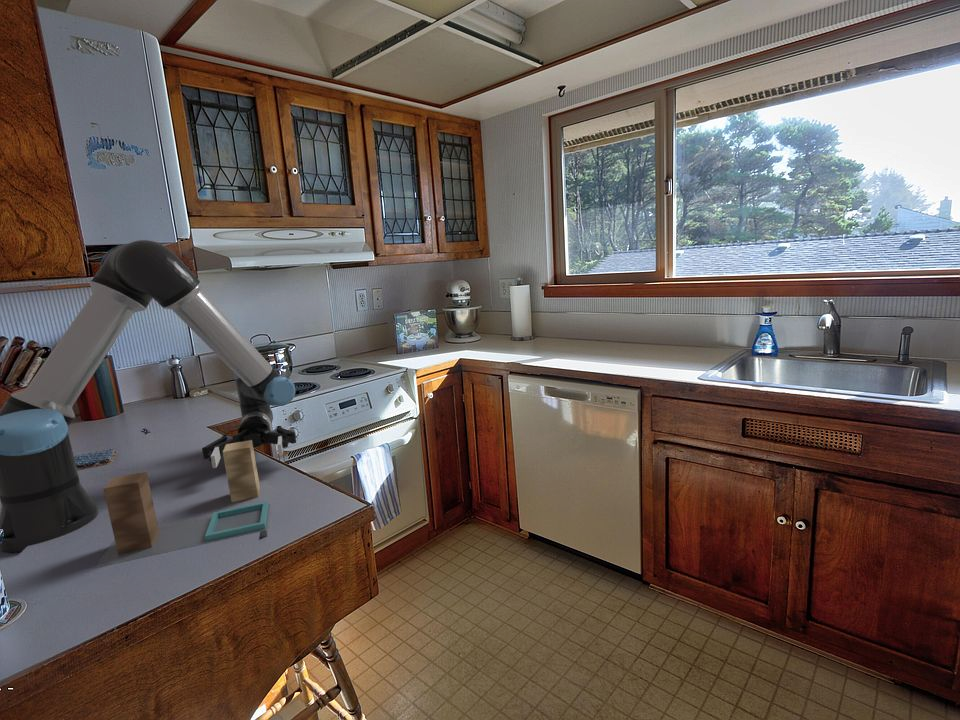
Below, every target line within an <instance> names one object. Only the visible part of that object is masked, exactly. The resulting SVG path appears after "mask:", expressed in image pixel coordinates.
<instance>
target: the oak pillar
mask: <svg viewBox="0 0 960 720" xmlns="http://www.w3.org/2000/svg"><path fill="white" fill-rule="evenodd" d="M222 456H223V461H224V467H225V472H226V479H227V483H228V484H227V485H228V490H229V494H230V501H231V503H237V502H241V501H245V500H251V499H255V498H259V495H260V489H261V487H260V485H261V484H260V480H259V473H258V468H257V463H256V455H255V449H254V447H253V443H252V440H249V441H243V442H237V443H231V444H226V446H225V448H224V450H223V455H222Z"/></svg>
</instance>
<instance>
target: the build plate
mask: <svg viewBox="0 0 960 720" xmlns="http://www.w3.org/2000/svg"><path fill="white" fill-rule="evenodd" d="M268 501H269V500H267V501H263V502H258V503H252V504H247V505H243V506H238V507H233V508H228V509H223V510H219V511H214V512H213V513H212V515H211V516H207V517H202V518H197V519H192V520H187V521H184V522H183V521H182V522H179V523H172V524H168V525H164V526H163V525H162V526H158V528H159V533H160V534H159V536H158V538H157V539H156V541H155V543H154V545H153V547H152V548H147V549H142V550H138V551H133V552H129V553H124V554H119V555H118V551H117V547H116V542H115V539H114V540H113V541H112V542H111V543H110V545H109V547H108V548H107V549H106V551H105V552H104V553H103V555H102V556H101V558H100V559H99V560H98V562H97V563H96V564H95V567H94V569H97V568H102V567H107V566H111V565H115V564H120V563H124V562H129V561H133V560H138V559H142V558H147V557H152V556H156V555H161V554H165V553H169V552H174V551H179V550H183V549H187V548H191V547H197V546H201V545H206V544H210V543H214V542H219V541H225V540H228V539H233V538H238V537H242V536H246V535H250V534H255V533H259V537H258V539H260V538H265V537H268V532H269V526H270V517H271V504H269V502H268Z"/></svg>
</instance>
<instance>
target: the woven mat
mask: <svg viewBox="0 0 960 720" xmlns="http://www.w3.org/2000/svg"><path fill="white" fill-rule="evenodd" d="M118 452H119V451H116V449H115V448H109V450H105V449H104V450H102V451H95V452H92V453H91V452H89V453H88V454H87V453H85V454H81V455H74V460H75V464H76V468H77V471H79V470H85V469H90V468H94V466H95V467H99V466H98V465H100V466H104V465H103V464H105V465H109V464H108V463H109V462H110V464H112V462H114V459H115V457H116V456H117V455H116V454H118ZM115 453H116V454H115ZM112 459H113V460H112ZM89 466H90V468H89ZM84 467H85V468H84Z"/></svg>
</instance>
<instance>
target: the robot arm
mask: <svg viewBox="0 0 960 720" xmlns="http://www.w3.org/2000/svg"><path fill="white" fill-rule="evenodd" d="M89 285H90V288H91V290H92V294H91V295H90V296H89V298H88V299H87V301H85V304H84V305H83V306H82V308H81V309H80V311H79V312H78V314H77V315H76V316H75V318H74V319H73V321H72V322H71V324H70V325H69V326H68V328H67V330H66V331H65V333H63V335H62V336H61V338H60V339H59V341H58V342H57V344H56V345H55V347H54V348H53V349H52V350H51V352H50V354H49V355H48V356H47V358H46V359H45V361H44V363H43V364H42V365H41V367H40V368H39V369H38V371H37V373H35V375H34V376H33V378H32V380H31V381H30V382H29V384H28V385H27V386H26V388H25V389H23V390H21V391H17V392H13V393H11V394H10V396H9V397H8V398H7V399H6V401H5V402H4V404H3V405H2V406H1V408H0V503H1V508H0V529H3V530H4V537H3V540H2V543H1V544H0V550H1V551H2V552H5V553H18V552H19V553H21V552H23V551H24V550H25V549H26V548H27V547H29V546H31V545H32V546H33V545H37V544H41V543H45V542H48V541H51V540H54V539H57V538H60V537H63V536H66V535H68V534H71V533H73V532H75V531H78V530H79V529H81V528H83V527H85V526H87V525H88V524H90V523H91V522H92V521H94V520H95V519H96V518H97V517H98V515H99V509H98V506H97V504H96V503H95V501H94V500H93V499H92V497H91V495H89V493H88V492H87V491H86V489H85V488H84V487H83V485H82V484H81V482H80V477H79V473H78V470H77V468H76V464H75V460H74V457H75V455H74V452H73V449H72V444H71V440H70V439H71V438H70V436H69V427H70V426H71V424H72V422H73V421H74V420H75V417H76V415H75V412H74V410H73V406H74V405H75V403H76V401H77V400H78V398H79V397H80V395H81V394H82V392H83V391H84V389H85V388H86V386H87V385H88V383H89V382H90V380H91V379H92V377H93V376H94V374H95V373H96V371H97V369H98V368H99V367H100V365H101V364H102V362H103V360H104V359H105V357H106V356H107V354H108V353H109V351H110V350H111V349H112V347H113V345H114V344H115V342H116V341H117V339H118V338H119V337H120V334H121V333H122V332H123V330H124V329H125V327H126V325H127V324H128V323H129V321H130V319H131V318H132V316H133V315H134V314H135V313H137V312H143V311H146V309H147V307H148V306H149V305H150V303H151V302H152V300H154V301H155V302H157V304H158V305H160V306H161V307H162V309H166V310H171V311H172V312H173V313H175V315H177V316H178V318H179V319H180V320H181V321H182V322H183V323H185V324H186V326H188V328H189V329H190V330H191V331H192V332H193V333H194V334H195V335H196V336H197V337H198V338H199V339H200V340H201V341H202V342H203V343H205V345H207V346H208V348H209V349H211V351H212V352H213V353H215V355H216V356H217V357H219V359H220V360H221V361H222V362H224V364H225V365H226V366H227V367H228V368H229V369H230V370H231V371H232V372H233V373H234V378H235V379H234V381H235V386H236V390H237V396H238V400H239V407H240V414H241V419H242V420H241V422H240V424H239V426H238V430H237V433H236V434H234V435H233V436H229V434H227V433H226V434H223V435H222V436H220V438H218V439H216V440H214V441H213V442H211V443H208V444H207V445H205V446H204V447H202V448H201V453H202V457H203V460H207V459H208V461H209V462H211V467H212V469H217V468H218V465H219V463H220V460H221V456H223V450H224V448H225V446H226V444H231V443H237V442H243V441H249V440H252V443H253V448H258V447H261V446H262V445H268V444H272V445H277V450H278V456H279V457H282V456H284V449H286V448H288V447H289V444H291V445H292V444H296V443H297V438H296V432H294V431H291V430H288V429H286V428H284V427H282V425H277V426H276V427H275V428H274V429H273V430H272V428H271V427H272V423H273V420H274V414H273V411H272V409H271V407H283V406H286V405H289V404H290V403H292V401H293V399H294V398H295V395H296V386H295V383H294V382H293V381H292V380H291V379H290V378H287V377H286V376H283V375H281V374H280V373H279V372H278V370H276V369H275V368H274V367H273V366H272V365H271V363H270V362H268V360H266V359H265V357H264V356H263V355H262V354H261V352H259V350H257V349H256V347H255V346H254V345H253V344H252V343H251V342H250V341H249V340H248V339H247V338H246V336H244V335H243V333H242V332H241V331H240V330H239V329H238V328H237V327H236V326H235V324H234V323H233V322H232V321H231V320H230V319H229V318H228V317H227V316H226V315H225V314H224V312H223V311H222V310H220V308H219V307H218V306H217V305H216V304H215V303H214V301H212V300H211V299H210V297H209V296H208V295H207V294H206V293H205V291H203V289H201V288H202V286H201V285H202V283H201V281H200V280H199V278H198V277H197V276H196V275H195V274H194V273H193V272H192V270H190V268H189V267H188V266H187V265H186V264H185V263H184V262H183V261H182V260H181V259H180V258H179V257H178V255H176V253H174V251H172V250H171V249H169V248H168V247H167V246H165V245H164V244H162V243H159V242H156V241H154V240H148V239H145V240H144V239H139V240H134V241H132V242H129V243H123V244H119V245H116V246H114V247H112V248H111V249H109V250H108V251H107V252H106V253H105V254H104V256H103V257H102V259H101V262H100V266H99V269H98V271H96V273H95V274H94V276H93V278H92V279H91V281H90V282H89Z"/></svg>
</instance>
